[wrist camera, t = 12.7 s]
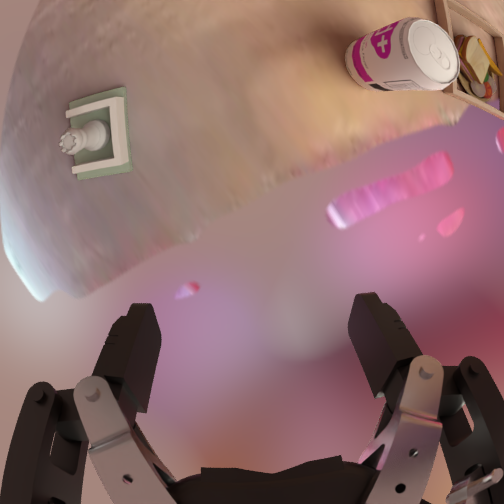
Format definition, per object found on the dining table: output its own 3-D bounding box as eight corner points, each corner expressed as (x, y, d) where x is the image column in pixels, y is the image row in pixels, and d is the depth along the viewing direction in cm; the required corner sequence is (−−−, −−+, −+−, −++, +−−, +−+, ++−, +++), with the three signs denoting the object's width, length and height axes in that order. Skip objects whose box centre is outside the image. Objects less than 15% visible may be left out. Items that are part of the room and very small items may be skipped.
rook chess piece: (113, 119, 29) (84, 123, 22) (109, 151, 31) (80, 163, 24) (87, 118, 28) (54, 123, 21) (83, 149, 30) (52, 160, 23)
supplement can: (332, 67, 28) (389, 47, 15) (359, 29, 25) (419, 0, 12) (377, 102, 31) (447, 107, 17) (401, 64, 27) (471, 57, 14)
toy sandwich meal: (475, 114, 30) (493, 118, 26) (436, 54, 26) (454, 52, 22) (496, 80, 26) (512, 82, 22) (460, 24, 21) (477, 21, 17)
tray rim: (432, -5, 19) (441, -8, 17) (495, 35, 20) (503, 35, 18) (443, 92, 29) (453, 93, 27) (501, 119, 30) (510, 121, 27)
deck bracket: (72, 102, 28) (59, 103, 24) (126, 87, 28) (115, 85, 25) (81, 178, 33) (69, 185, 30) (132, 170, 34) (123, 176, 31)
